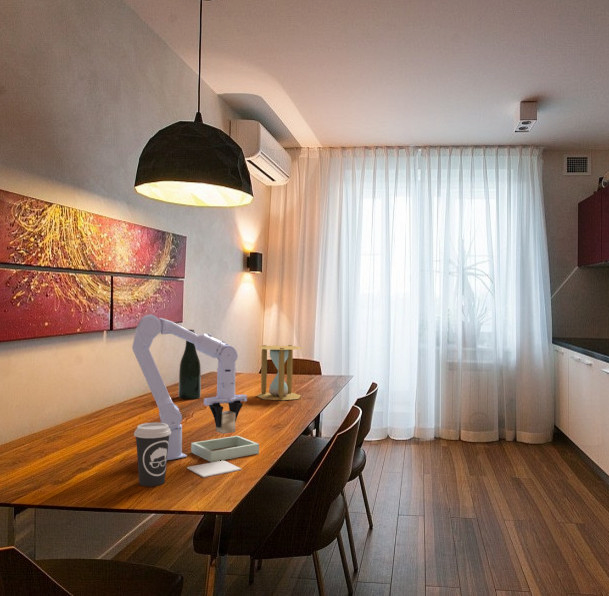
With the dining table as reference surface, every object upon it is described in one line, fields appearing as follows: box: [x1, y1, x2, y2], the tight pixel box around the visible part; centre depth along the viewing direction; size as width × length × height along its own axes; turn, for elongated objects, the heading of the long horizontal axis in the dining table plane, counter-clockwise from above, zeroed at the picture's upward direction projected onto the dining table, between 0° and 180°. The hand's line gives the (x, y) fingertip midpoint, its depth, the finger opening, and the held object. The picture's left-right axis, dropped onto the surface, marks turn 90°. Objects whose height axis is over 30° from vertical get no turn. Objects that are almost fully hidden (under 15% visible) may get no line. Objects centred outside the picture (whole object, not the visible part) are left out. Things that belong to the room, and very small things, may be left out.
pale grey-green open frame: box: [190, 435, 260, 463], centre depth 180 cm, size 17×13×3 cm
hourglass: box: [256, 344, 302, 401], centre depth 281 cm, size 24×22×25 cm
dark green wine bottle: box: [178, 329, 202, 400], centre depth 275 cm, size 10×10×33 cm
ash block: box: [215, 410, 236, 435], centre depth 180 cm, size 4×4×6 cm
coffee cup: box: [133, 422, 171, 487], centre depth 150 cm, size 10×10×15 cm
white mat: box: [186, 460, 242, 478], centre depth 163 cm, size 12×10×1 cm
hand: (225, 426), depth 180 cm, fingers closed on ash block, 4 cm apart
